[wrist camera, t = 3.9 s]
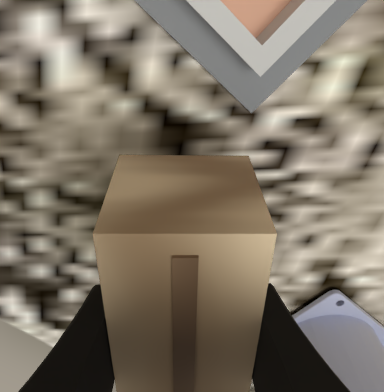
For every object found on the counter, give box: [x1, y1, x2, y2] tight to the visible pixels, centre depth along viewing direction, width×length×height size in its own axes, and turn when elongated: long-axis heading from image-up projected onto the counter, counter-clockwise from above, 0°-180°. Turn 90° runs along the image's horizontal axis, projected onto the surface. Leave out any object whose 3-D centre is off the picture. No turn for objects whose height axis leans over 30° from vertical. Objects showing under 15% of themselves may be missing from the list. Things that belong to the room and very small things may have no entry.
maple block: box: [93, 155, 277, 392], centre depth 12 cm, size 4×8×4 cm, turn 179°
